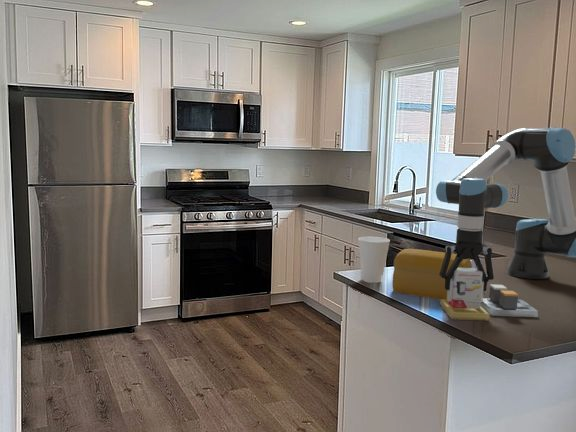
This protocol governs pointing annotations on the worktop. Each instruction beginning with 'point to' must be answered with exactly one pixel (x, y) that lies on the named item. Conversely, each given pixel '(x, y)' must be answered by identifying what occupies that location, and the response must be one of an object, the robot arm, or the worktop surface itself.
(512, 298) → the grey block
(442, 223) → the worktop surface
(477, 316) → the yellow tray
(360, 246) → the cup
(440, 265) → the bread
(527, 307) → the panel
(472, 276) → the ink box
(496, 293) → the toggle plain
